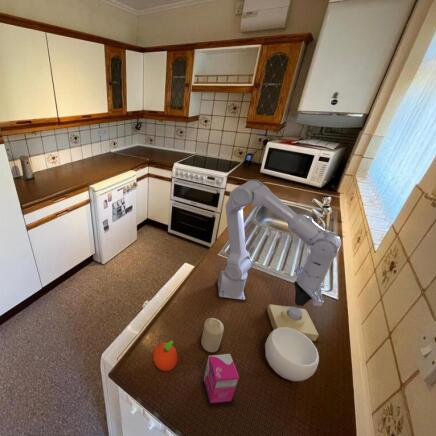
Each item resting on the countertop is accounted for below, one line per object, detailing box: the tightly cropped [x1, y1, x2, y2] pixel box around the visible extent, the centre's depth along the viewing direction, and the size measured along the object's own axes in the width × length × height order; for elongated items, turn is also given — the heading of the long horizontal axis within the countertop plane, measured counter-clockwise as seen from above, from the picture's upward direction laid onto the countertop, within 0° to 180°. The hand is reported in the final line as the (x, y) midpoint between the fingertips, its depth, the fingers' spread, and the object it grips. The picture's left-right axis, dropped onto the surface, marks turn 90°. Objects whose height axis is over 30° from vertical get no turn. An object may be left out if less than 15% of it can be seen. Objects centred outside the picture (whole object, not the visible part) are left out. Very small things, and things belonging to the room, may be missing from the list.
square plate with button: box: [266, 303, 319, 342], centre depth 79 cm, size 12×10×5 cm
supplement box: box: [203, 353, 240, 404], centre depth 60 cm, size 6×6×12 cm
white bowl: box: [264, 327, 320, 382], centre depth 66 cm, size 12×12×10 cm
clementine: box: [152, 340, 178, 372], centre depth 67 cm, size 8×7×7 cm
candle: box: [200, 317, 225, 353], centre depth 71 cm, size 6×6×10 cm
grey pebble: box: [288, 306, 302, 320], centre depth 78 cm, size 4×4×2 cm
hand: (299, 303), depth 75 cm, fingers closed
